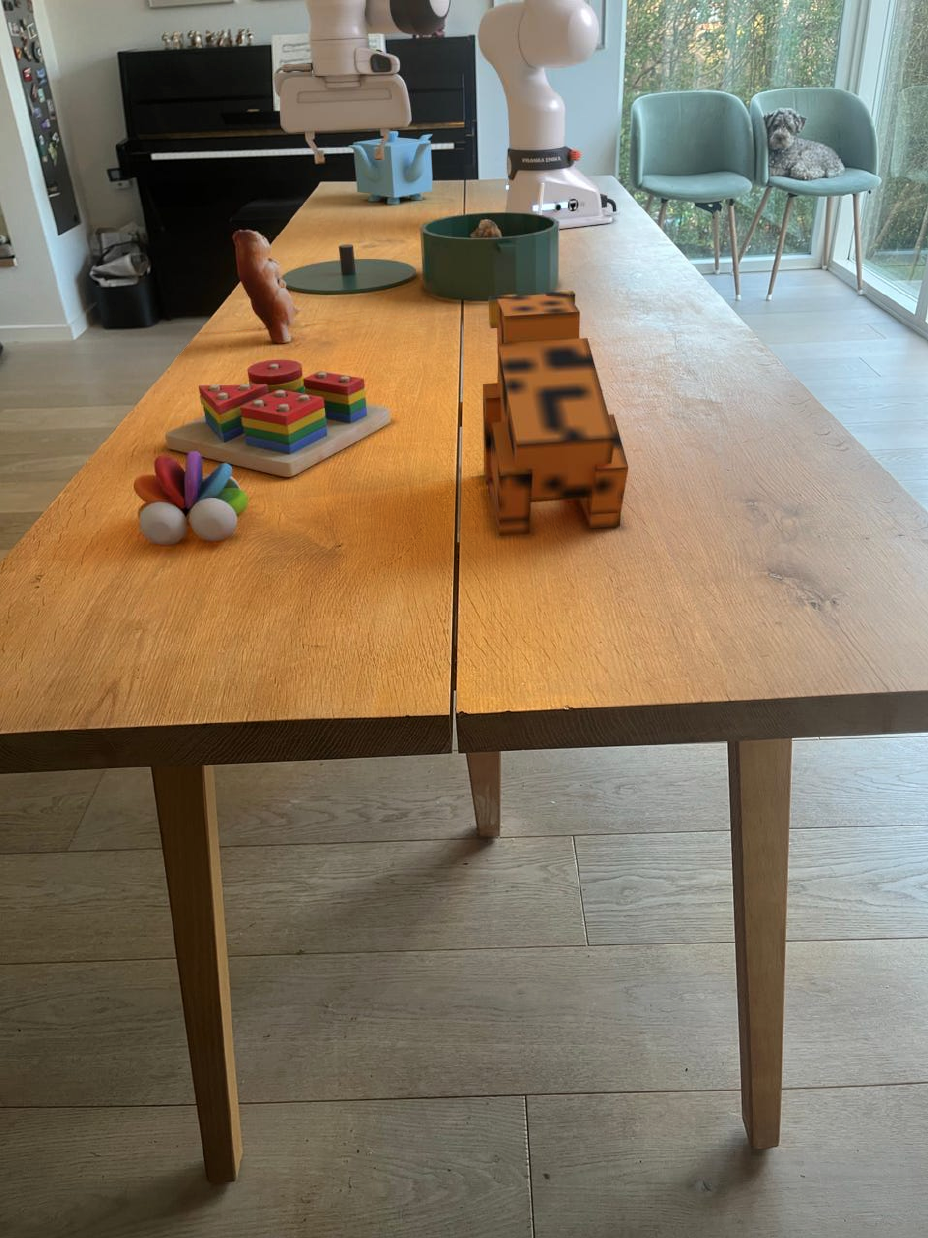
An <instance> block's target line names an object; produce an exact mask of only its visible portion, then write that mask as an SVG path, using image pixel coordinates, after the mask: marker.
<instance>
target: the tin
mask: <svg viewBox="0 0 928 1238" xmlns="http://www.w3.org/2000/svg"><path fill="white" fill-rule="evenodd" d="M486 219H487V220H491V221H492V222H494V223H495V224H496V225H497V226H498V229H499V230H500V232H501V236H502V237H498V238H471V236H470V235H471V234H472V233H473V232H475V231H476V229H477V228H479V224H480V221H481V220H486ZM419 234H420V235H419V237H420V251H421V253H420V254H421V269H422V285H423V288H424V291H425V292H427V293H429V294H431V295H433V296H435V297H439V298H445V299H449V300H457V301H470V302H489V296H498V295H515V294H517V296H528V295H544V294H545V293H548V292H556V290H557V289H558V287H559V278H560V277H559V276H560V275H559V274H560V267H559V266H560V229H559V222H558V221H557V220H556V219H554V218H551V217H548V216H544V215H538V214H530V213H516V212H505V211H496V212H495V211H492V212H490V211H487V212H475V213H474V212H473V213H463V214H456V215H449V216H444V217H440V218H435V219H432V220H430V221H428V222H425V223H423V224H422V225H421V226H420V227H419Z"/></svg>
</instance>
